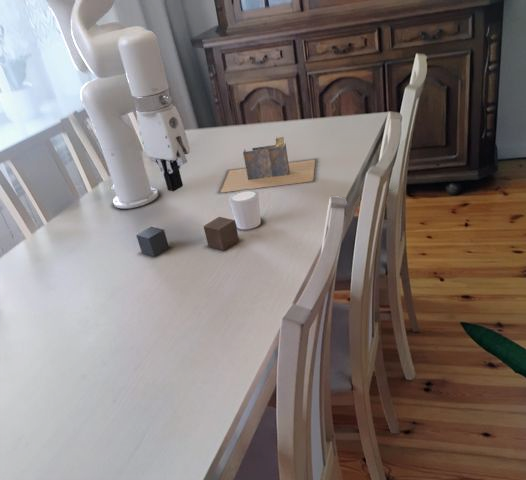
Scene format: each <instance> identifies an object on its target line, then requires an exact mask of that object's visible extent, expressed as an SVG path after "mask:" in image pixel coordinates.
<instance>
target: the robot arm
mask: <svg viewBox="0 0 526 480" xmlns="http://www.w3.org/2000/svg"><path fill="white" fill-rule="evenodd" d="M43 1H44V3H45V4H46V6H47V7H48V8H49V9H50V12H51V13H52V14H53V16H54V19H55V20H56V23H57V26H58V28H59V30H60V33H61V36H62V38H63V41H64V44H65V47H66V48H67V51H68V53H69V56H70V58H71V61H72V63H73V65H74V67H75V68H76V70H77V71H78V72H79V73H81V74H83V75H84V74H85V75H89V74H93V75H94V76H95V77H97V78H93V79H91V80H90V81H87V82H86V83H85V84H84V85H83V86H82V87H81V89H80V92H79V93H80V94H79V95H80V100H81V102H82V106H83V108H84V110H85V112H86V114H87V116H88V118H89V120H90V122H91V124H92V126H93V130H94V132H95V134H96V137H97V140H98V142H99V145H100V147H101V151H102V154H103V157H104V160H105V164H106V167H107V169H108V172H109V175H110V178H111V181H112V184H113V185H111V186H110V190H111V191H112V192H115V194H116V196H115V197H114V198H113V201H112V202H113V205H114V207H115V208H116V209H122V210H123V209H124V210H125V209H126V210H127V209H135V208H138V207H142V206H145V205H147V204H150V203H152V202H153V201H155V200H156V199H157V198H158V196H159V191H158V189H157V188H155V187H153V186H151V184H150V180H149V176H148V174H147V170H146V166H145V163H144V160H143V156H142V153H141V148H140V145H139V142H138V139H137V135H136V133H135V131H134V129H133V128H132V127H131V126H130V125H129V124H127V123H126V122H125V121H123V120H122V119H121V117H122V116H125V115H127V114H130V113H133V112H136V121H137V127H138V131H139V136H140V141H141V143H142V144H141V145H142V147H143V150H144V152H145V154H146V156H148V157H149V159H150V160H151V161H152V162H155V163H156V164H157V165H158V167H159V170H160V172H161V173H163V178H164V181H165V184H166V189H167V191H171V192H175V191H178V190H179V189H181V188H182V187H184V184H183V180H182V176H181V175H182V174H181V171H180V170H181V166H183V165H186V164H187V163H188V160H187V156H186V155H188V154H190V152H191V149H190V148H191V147H190V144H189V140H188V136H187V133H186V130H185V127H184V124H183V121H182V118H181V115H180V112H179V111H178V109H177V107H176V105H174V104H173V98H172V95H171V90H170V87H169V82H168V78H167V74H166V69H165V66H164V61H163V57H162V53H161V49H160V44H159V42H158V41H159V40H158V37H157V35H156V34H155V32H153V31H152V30H149V29H146V28H145V27H143V26H141V25H135V26H129V27H127V26H126V25H125V24H124V23H122V22H120V21H112V22H108V23H104V24H100V25H98V24H97V23H98V21H100V20H101V19H102V18H103V17H104V16H106V15H107V14H108V12H110V10H111V9H112V7H113V6H114V4H115V1H116V0H43Z"/></svg>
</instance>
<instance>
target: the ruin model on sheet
mask: <svg viewBox="0 0 526 480" xmlns="http://www.w3.org/2000/svg"><path fill="white" fill-rule="evenodd" d="M286 143H287V142H286ZM286 143H285V136H284V135H283V136H279V137H277V136H275V144H271V145H266V146H265V145H263V146H257V147H252V148H251V150H247V151H246V148H244V149H243V151H242V154H243V161H244V165H245V168H239V169H232V170H229V171H228V173H227V175H226V178H225V180H224V183H223V184H222V187H221V189H220V193H228V192H229V193H230V192H238V191H245V190H253V189H260V188H269V187H277V186H285V185H294V184H300V183H301V184H303V183H309V182H314V178H315V177H314V175H315V167H316V166H315V165H316V159H310V160H309V159H308V160H302V161H294V162H289V157H288V150H287V144H286Z"/></svg>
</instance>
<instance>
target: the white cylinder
mask: <svg viewBox="0 0 526 480" xmlns="http://www.w3.org/2000/svg"><path fill="white" fill-rule="evenodd" d="M228 201H229V205H230V208H231V211H232V215H233V217H234V218H233V219H234V220H235V223H236V228H237V229H238V230H252V229H255V228H257V227H258V226H260V225H261V223H262V222H261V221H262V220H261V210H260V197H259V192H258V191H257V190H253V189H245V190H239V191H236V192H234V193H233V194H231V195H230V196H229V197H228Z"/></svg>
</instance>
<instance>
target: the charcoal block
mask: <svg viewBox="0 0 526 480" xmlns="http://www.w3.org/2000/svg"><path fill="white" fill-rule="evenodd" d="M166 235H167V234H166V231H165V229H163V228H160V227H156V226H150V227H148V228H146V229H144V230H143V231H141V232H139V233H137V234H136V235H135V236H136V239H137V242H138V245H139V248H140V251H141V254H143V255H146V256H151V257H153V258H155V257H157V256H158V255H160V254H162V253H163V252H165V251H167V250H168V249H170V245H169V242H168V238H167V236H166Z"/></svg>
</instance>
